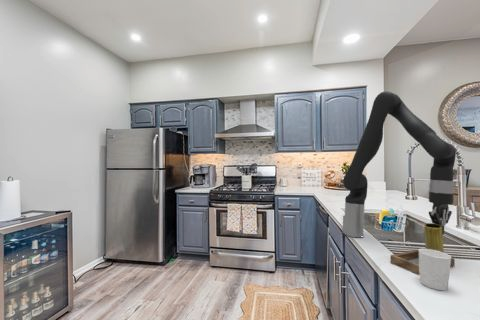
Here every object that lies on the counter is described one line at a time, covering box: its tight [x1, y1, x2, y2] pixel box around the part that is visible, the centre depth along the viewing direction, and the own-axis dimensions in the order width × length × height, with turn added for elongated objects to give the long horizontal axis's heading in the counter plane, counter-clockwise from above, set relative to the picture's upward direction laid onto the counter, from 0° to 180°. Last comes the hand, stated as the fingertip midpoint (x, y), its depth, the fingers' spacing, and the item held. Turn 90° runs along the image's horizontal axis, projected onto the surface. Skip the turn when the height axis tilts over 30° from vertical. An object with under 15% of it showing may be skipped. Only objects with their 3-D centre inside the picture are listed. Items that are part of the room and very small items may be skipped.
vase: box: [424, 222, 445, 253], centre depth 90 cm, size 6×6×14 cm
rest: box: [389, 248, 456, 276], centre depth 87 cm, size 11×21×3 cm, turn 115°
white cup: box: [418, 248, 452, 291], centre depth 72 cm, size 8×8×10 cm
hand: (439, 234), depth 92 cm, fingers closed
